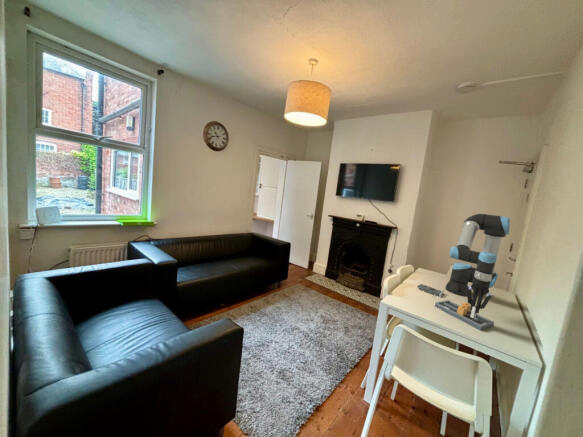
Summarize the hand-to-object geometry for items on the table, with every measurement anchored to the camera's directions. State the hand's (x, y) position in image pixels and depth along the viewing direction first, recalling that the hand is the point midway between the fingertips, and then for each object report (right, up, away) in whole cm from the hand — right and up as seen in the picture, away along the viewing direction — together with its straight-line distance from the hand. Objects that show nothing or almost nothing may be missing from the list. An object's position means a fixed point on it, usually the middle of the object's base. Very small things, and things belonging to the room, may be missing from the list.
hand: (472, 317), depth 134 cm
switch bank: (0, -3, +8) cm, 9 cm away
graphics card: (0, +1, +42) cm, 42 cm away
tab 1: (-3, 0, +5) cm, 6 cm away
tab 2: (+3, 0, +10) cm, 10 cm away
